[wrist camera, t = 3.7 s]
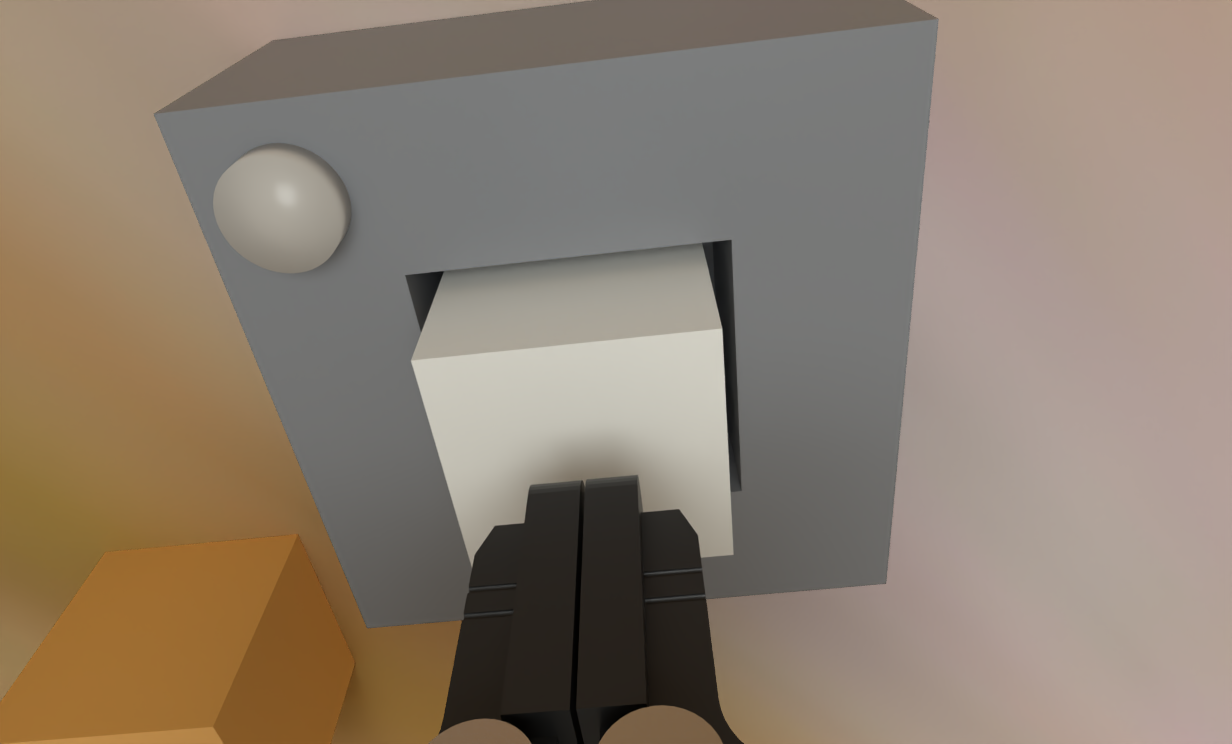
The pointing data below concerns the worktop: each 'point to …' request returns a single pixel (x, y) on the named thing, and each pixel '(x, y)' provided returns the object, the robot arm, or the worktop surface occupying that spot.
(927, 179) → the worktop surface
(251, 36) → the worktop surface
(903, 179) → the grey square block
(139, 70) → the worktop surface
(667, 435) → the switch
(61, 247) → the worktop surface
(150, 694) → the orange matte cube
